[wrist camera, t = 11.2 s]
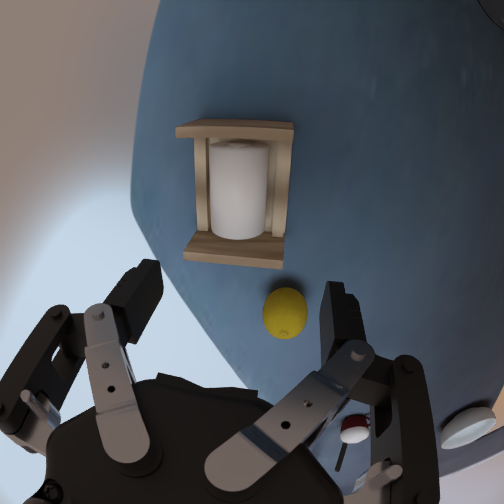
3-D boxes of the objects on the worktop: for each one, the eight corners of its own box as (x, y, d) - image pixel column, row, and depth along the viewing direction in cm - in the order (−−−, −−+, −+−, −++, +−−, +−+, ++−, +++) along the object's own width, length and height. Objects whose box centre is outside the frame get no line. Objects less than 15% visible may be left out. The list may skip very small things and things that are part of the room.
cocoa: (370, 407, 53) (377, 454, 43) (372, 420, 56) (379, 463, 45) (327, 418, 56) (330, 464, 45) (333, 429, 58) (335, 473, 48)
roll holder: (199, 119, 29) (175, 127, 23) (293, 122, 28) (293, 130, 22) (202, 229, 36) (184, 259, 30) (284, 236, 35) (282, 269, 29)
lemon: (262, 277, 39) (255, 320, 32) (304, 273, 38) (306, 315, 31) (269, 309, 41) (263, 352, 34) (308, 306, 40) (309, 349, 33)
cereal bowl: (467, 397, 50) (474, 420, 44) (499, 397, 51) (506, 417, 44) (425, 430, 59) (429, 452, 53) (461, 429, 59) (465, 447, 53)
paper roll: (241, 136, 30) (197, 142, 27) (281, 144, 27) (235, 150, 23) (240, 214, 35) (200, 227, 31) (275, 230, 31) (234, 247, 28)
